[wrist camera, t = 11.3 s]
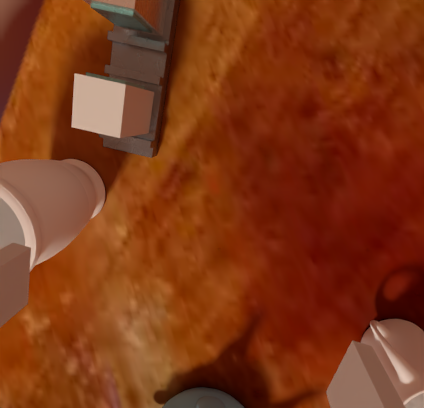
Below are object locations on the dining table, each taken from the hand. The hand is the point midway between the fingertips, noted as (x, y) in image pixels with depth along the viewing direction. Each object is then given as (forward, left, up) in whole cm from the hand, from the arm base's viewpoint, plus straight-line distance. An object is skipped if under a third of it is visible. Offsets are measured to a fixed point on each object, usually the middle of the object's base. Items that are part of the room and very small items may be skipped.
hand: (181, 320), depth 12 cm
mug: (+16, +26, -26) cm, 40 cm away
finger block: (-6, -12, -24) cm, 27 cm away
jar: (+6, -19, -26) cm, 32 cm away
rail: (-11, -12, -26) cm, 30 cm away
